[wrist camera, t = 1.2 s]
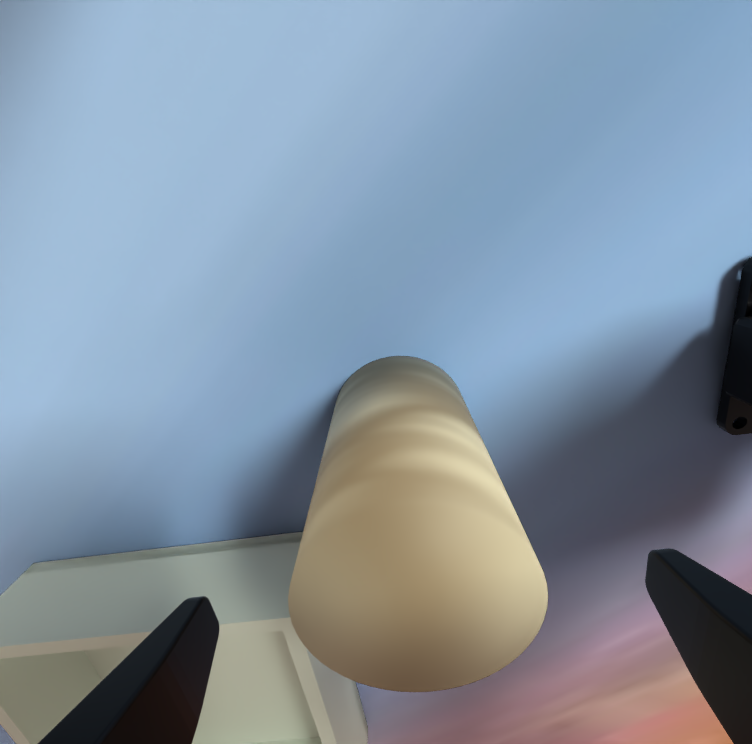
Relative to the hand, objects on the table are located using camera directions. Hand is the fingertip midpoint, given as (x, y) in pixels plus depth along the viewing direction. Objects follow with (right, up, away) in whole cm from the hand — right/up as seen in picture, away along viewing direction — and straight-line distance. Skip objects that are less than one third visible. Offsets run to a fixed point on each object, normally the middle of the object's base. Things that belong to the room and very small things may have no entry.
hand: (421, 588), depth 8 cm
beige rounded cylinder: (0, +3, +7) cm, 8 cm away
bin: (-9, -10, +12) cm, 18 cm away
